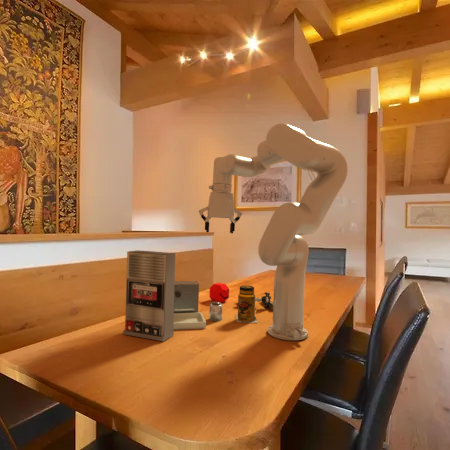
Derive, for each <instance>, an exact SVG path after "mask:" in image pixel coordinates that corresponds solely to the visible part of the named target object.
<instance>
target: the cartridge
mask: <svg viewBox="0 0 450 450" xmlns="http://www.w3.org/2000/svg"><path fill="white" fill-rule="evenodd" d="M209 320H210V321H211V322H221V321H223V303H222V302H214V301H212V302H210V303H209Z"/></svg>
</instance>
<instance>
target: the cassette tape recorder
mask: <svg viewBox="0 0 450 450" xmlns="http://www.w3.org/2000/svg"><path fill="white" fill-rule="evenodd" d="M175 276H176V252H167V251H164V252H163V251H154V250H153V251H150V250H138V249H137V250H129V251H127V253H126V283H125V315H124V316H125V318H124V319H125V320H124V321H125V322H124V324H125V325H124V329H123V330H122V334H123V335H125V336H132V337H137V338H142V339H149V340H153V341H159V342H162V343H163V342H165V341H166V340H168V339H170V338H171V337H173V336H174V335H175V334H174V332H175V331H174V330H173V318H174V285H175V279H176V278H175Z"/></svg>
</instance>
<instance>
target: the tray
mask: <svg viewBox="0 0 450 450" xmlns="http://www.w3.org/2000/svg"><path fill="white" fill-rule="evenodd" d="M198 329H200V330H201V329H207V321H206V319H205V316H204V315H203V312H200V311H198V312H196V313H174V318H173V331H174V330H175V331H177V330H179V331H180V330H198Z"/></svg>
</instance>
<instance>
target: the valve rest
mask: <svg viewBox="0 0 450 450" xmlns="http://www.w3.org/2000/svg"><path fill="white" fill-rule="evenodd" d="M263 296H264V295H262V296H260V298H261V299H262V297H263ZM260 303H261V304H263V302H262V301H260ZM266 303H268V302H266ZM268 309H269V310H271V311H272V312H273V301H272V299H270V304H269V308H268Z"/></svg>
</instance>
